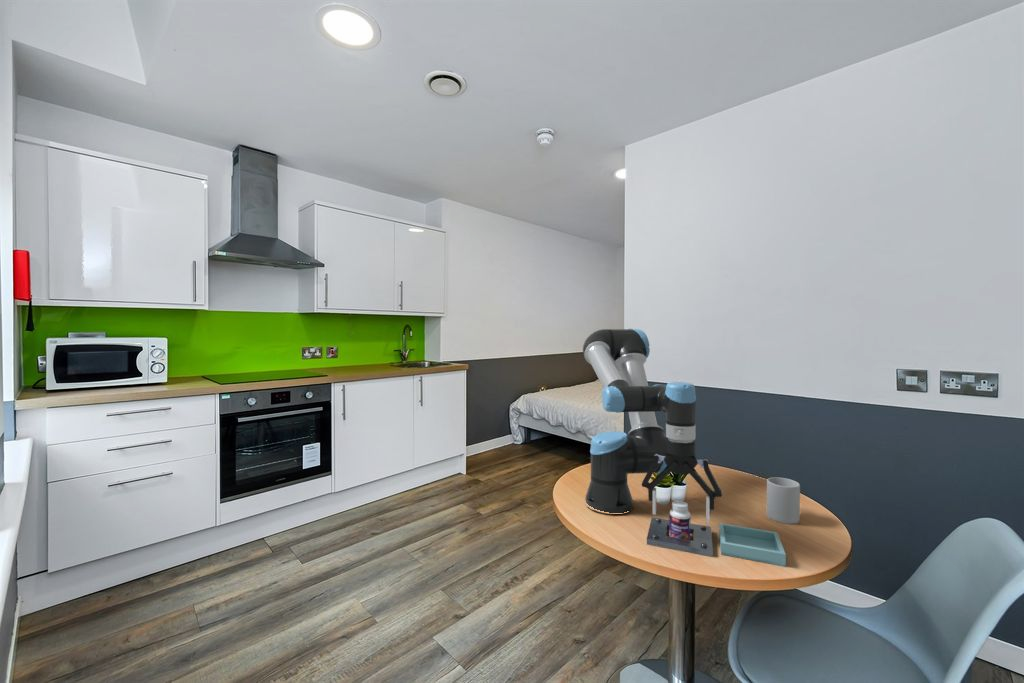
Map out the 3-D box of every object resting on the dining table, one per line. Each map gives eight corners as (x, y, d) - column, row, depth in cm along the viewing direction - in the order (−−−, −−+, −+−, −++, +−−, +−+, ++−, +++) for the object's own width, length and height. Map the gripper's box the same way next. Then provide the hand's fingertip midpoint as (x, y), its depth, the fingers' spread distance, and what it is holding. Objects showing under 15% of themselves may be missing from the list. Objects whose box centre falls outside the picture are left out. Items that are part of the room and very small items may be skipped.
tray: (721, 554, 108) (721, 542, 108) (718, 533, 119) (718, 522, 119) (785, 566, 102) (785, 554, 102) (776, 543, 113) (777, 532, 113)
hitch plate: (646, 544, 113) (646, 536, 113) (651, 521, 126) (651, 515, 126) (712, 556, 107) (712, 549, 107) (711, 532, 120) (711, 525, 120)
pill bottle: (669, 541, 115) (669, 505, 115) (669, 531, 120) (669, 498, 120) (690, 544, 113) (691, 508, 113) (690, 535, 118) (690, 500, 118)
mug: (804, 525, 123) (805, 488, 123) (771, 522, 125) (771, 485, 125) (789, 508, 135) (790, 474, 134) (759, 505, 137) (760, 472, 137)
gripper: (631, 438, 117) (631, 514, 118) (732, 447, 107) (732, 530, 108) (635, 432, 124) (635, 504, 124) (730, 440, 114) (730, 518, 114)
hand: (680, 516), depth 116 cm, fingers open, 13 cm apart
